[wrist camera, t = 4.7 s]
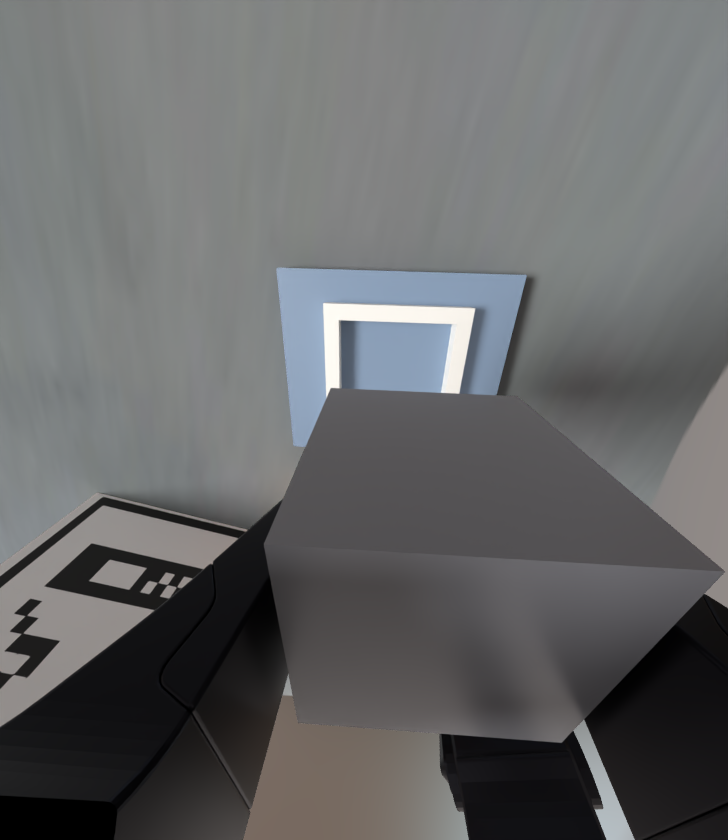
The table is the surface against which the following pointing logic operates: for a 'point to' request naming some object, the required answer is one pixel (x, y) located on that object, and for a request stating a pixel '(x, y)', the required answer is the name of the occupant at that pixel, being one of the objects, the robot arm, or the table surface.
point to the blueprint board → (392, 333)
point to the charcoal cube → (465, 570)
